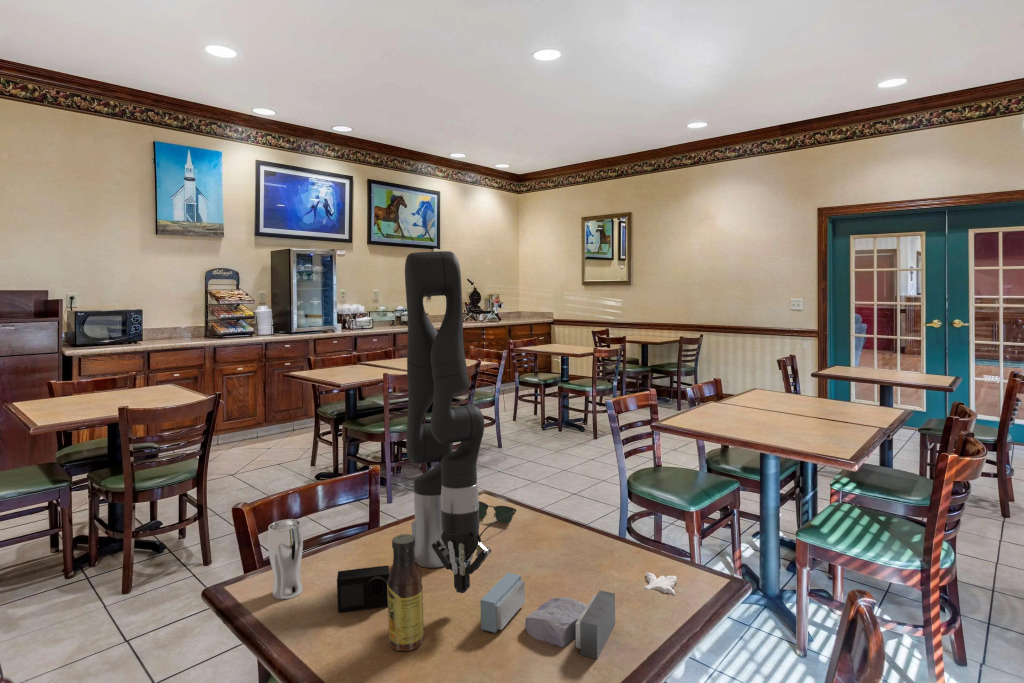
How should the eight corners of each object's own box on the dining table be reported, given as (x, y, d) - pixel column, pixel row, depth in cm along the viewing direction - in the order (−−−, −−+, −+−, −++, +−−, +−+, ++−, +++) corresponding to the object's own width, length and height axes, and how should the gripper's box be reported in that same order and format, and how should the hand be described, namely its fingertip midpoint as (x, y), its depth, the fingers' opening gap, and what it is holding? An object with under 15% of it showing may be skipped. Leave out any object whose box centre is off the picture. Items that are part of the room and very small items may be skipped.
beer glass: (311, 588, 127) (309, 521, 126) (287, 603, 121) (284, 532, 120) (288, 582, 130) (285, 516, 129) (263, 596, 124) (259, 528, 123)
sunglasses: (433, 535, 156) (432, 517, 156) (469, 515, 171) (468, 498, 171) (484, 547, 148) (484, 528, 148) (517, 525, 163) (517, 507, 162)
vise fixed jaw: (575, 653, 102) (574, 620, 101) (594, 619, 113) (594, 589, 112) (597, 659, 100) (596, 625, 100) (615, 623, 111) (614, 593, 111)
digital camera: (337, 616, 116) (335, 582, 115) (338, 603, 121) (337, 570, 120) (390, 609, 118) (389, 576, 118) (389, 596, 123) (388, 564, 123)
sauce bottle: (391, 635, 109) (387, 530, 107) (425, 632, 109) (422, 529, 108) (386, 656, 102) (383, 545, 101) (422, 653, 103) (419, 543, 101)
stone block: (521, 643, 108) (566, 651, 102) (517, 617, 109) (561, 623, 103) (556, 618, 118) (599, 623, 112) (552, 593, 118) (594, 597, 112)
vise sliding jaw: (481, 629, 109) (480, 599, 109) (508, 599, 120) (507, 572, 120) (500, 633, 108) (499, 604, 107) (525, 603, 119) (525, 576, 118)
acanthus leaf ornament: (645, 578, 131) (645, 569, 131) (677, 582, 128) (677, 573, 128) (642, 593, 124) (641, 584, 123) (675, 598, 121) (675, 589, 121)
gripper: (421, 507, 116) (424, 593, 116) (480, 516, 110) (482, 606, 111) (441, 496, 122) (444, 577, 123) (498, 504, 117) (500, 589, 117)
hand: (462, 591), depth 117 cm, fingers closed
